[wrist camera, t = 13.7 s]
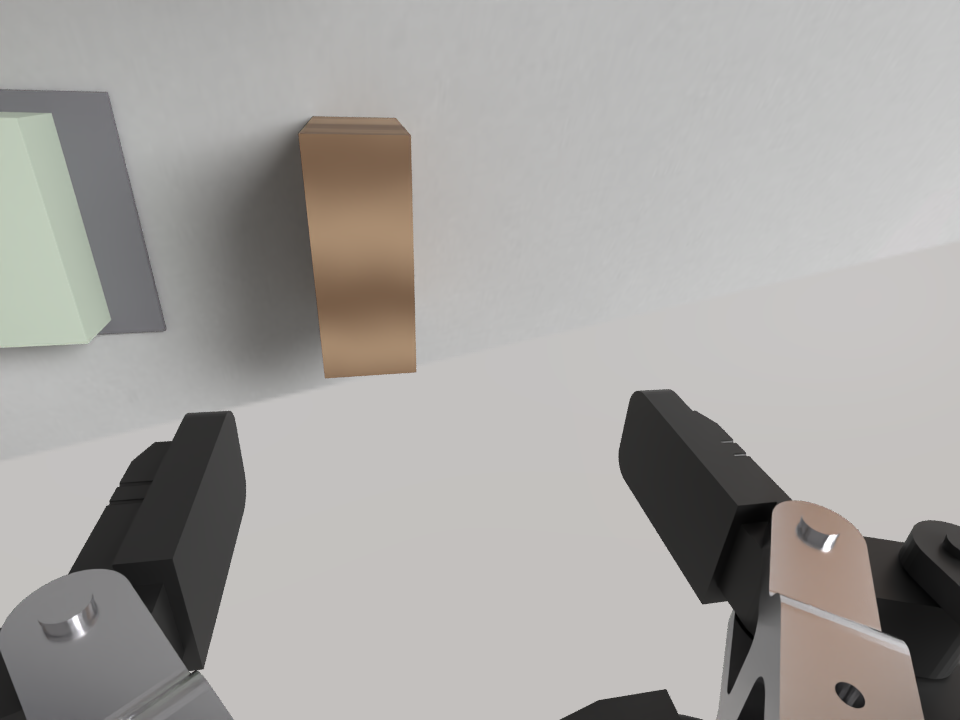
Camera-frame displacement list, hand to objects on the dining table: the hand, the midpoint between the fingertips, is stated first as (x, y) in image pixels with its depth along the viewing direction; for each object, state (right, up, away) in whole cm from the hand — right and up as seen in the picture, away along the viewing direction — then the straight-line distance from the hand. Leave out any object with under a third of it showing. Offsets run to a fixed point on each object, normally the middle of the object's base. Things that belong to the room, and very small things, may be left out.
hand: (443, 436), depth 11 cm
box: (-7, +11, +24) cm, 27 cm away
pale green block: (-25, +9, +21) cm, 34 cm away
